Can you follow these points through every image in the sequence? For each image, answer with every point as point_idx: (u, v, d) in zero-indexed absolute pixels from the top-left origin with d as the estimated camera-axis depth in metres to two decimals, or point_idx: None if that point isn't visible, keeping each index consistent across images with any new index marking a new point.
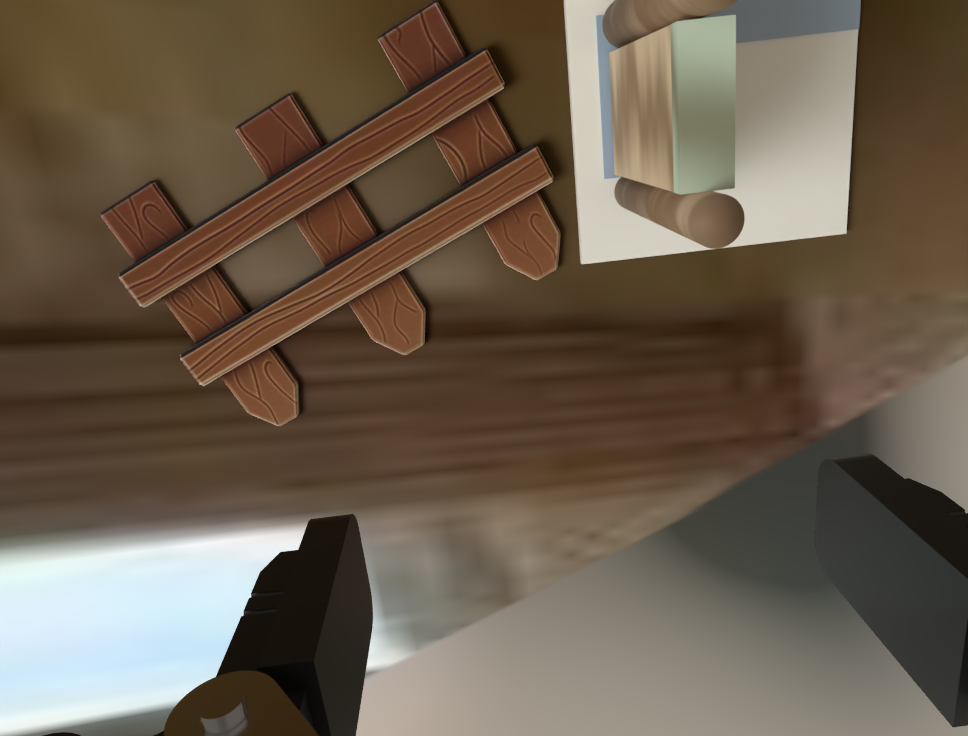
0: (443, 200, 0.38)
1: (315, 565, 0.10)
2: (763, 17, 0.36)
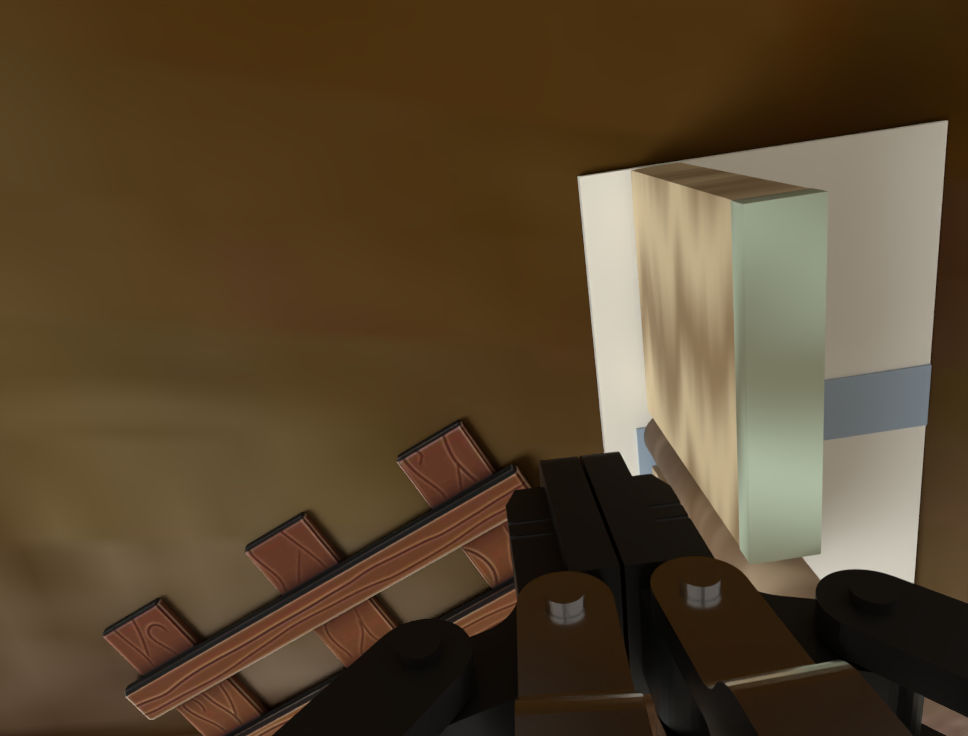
0: (473, 608, 0.35)
1: (570, 495, 0.11)
2: None
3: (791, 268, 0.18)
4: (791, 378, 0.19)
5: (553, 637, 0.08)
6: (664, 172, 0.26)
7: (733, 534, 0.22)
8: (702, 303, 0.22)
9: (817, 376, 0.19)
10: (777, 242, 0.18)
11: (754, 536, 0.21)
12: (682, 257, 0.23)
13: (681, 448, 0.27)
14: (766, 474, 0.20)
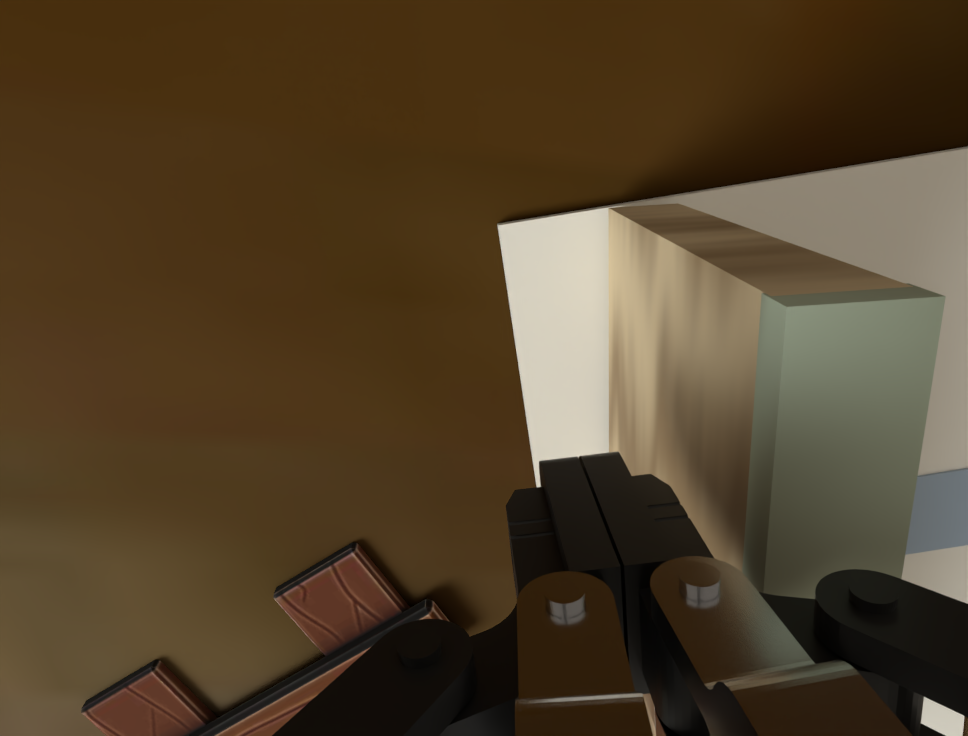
0: None
1: (570, 495, 0.11)
2: None
3: (861, 426, 0.10)
4: None
5: (553, 637, 0.08)
6: (654, 217, 0.18)
7: None
8: (695, 436, 0.14)
9: None
10: (842, 379, 0.10)
11: None
12: (669, 353, 0.15)
13: None
14: None
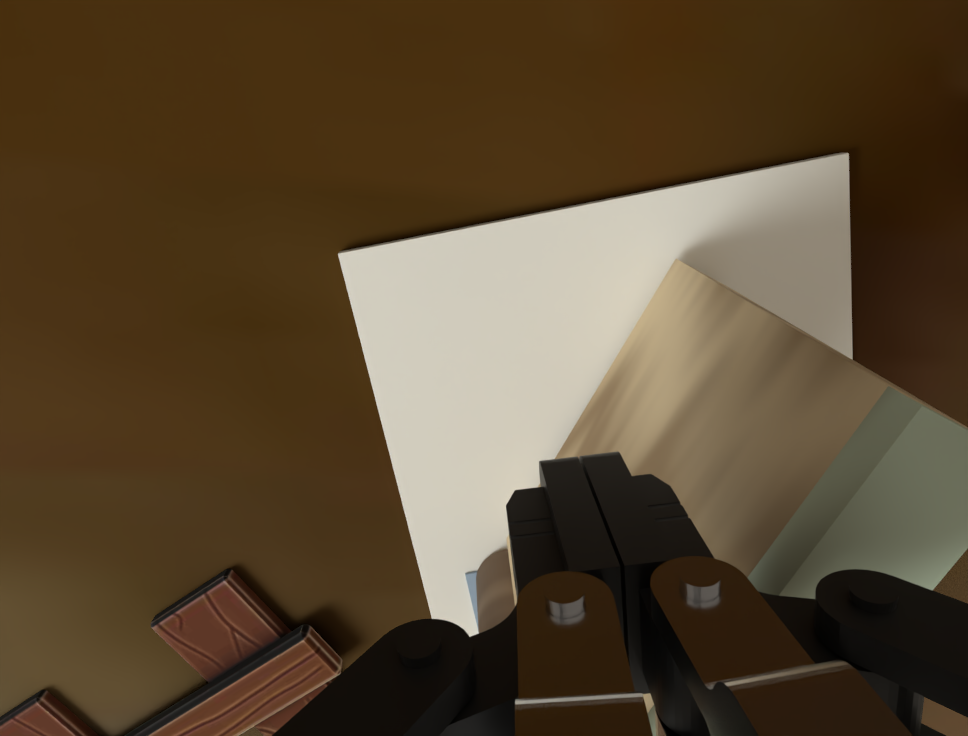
0: None
1: (571, 495, 0.11)
2: None
3: (908, 540, 0.10)
4: None
5: (553, 637, 0.08)
6: (724, 286, 0.19)
7: None
8: (705, 485, 0.14)
9: None
10: (920, 492, 0.10)
11: None
12: (704, 405, 0.15)
13: None
14: None
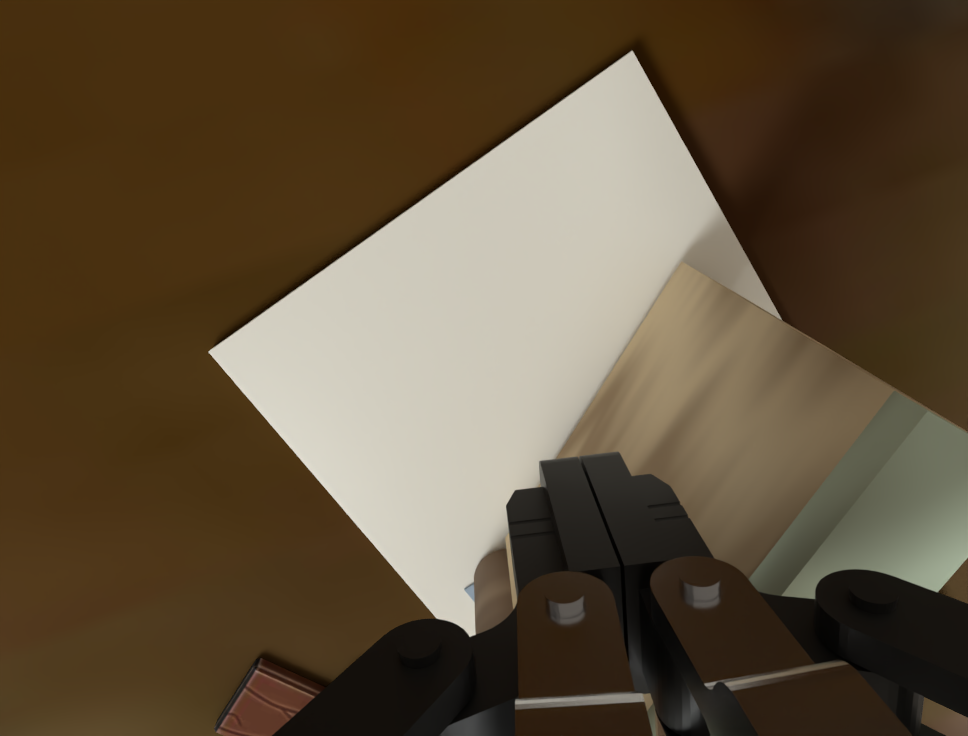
0: None
1: (571, 495, 0.11)
2: None
3: (911, 545, 0.10)
4: None
5: (553, 637, 0.08)
6: (730, 290, 0.19)
7: None
8: (707, 486, 0.14)
9: None
10: (924, 497, 0.10)
11: None
12: (708, 407, 0.15)
13: None
14: None
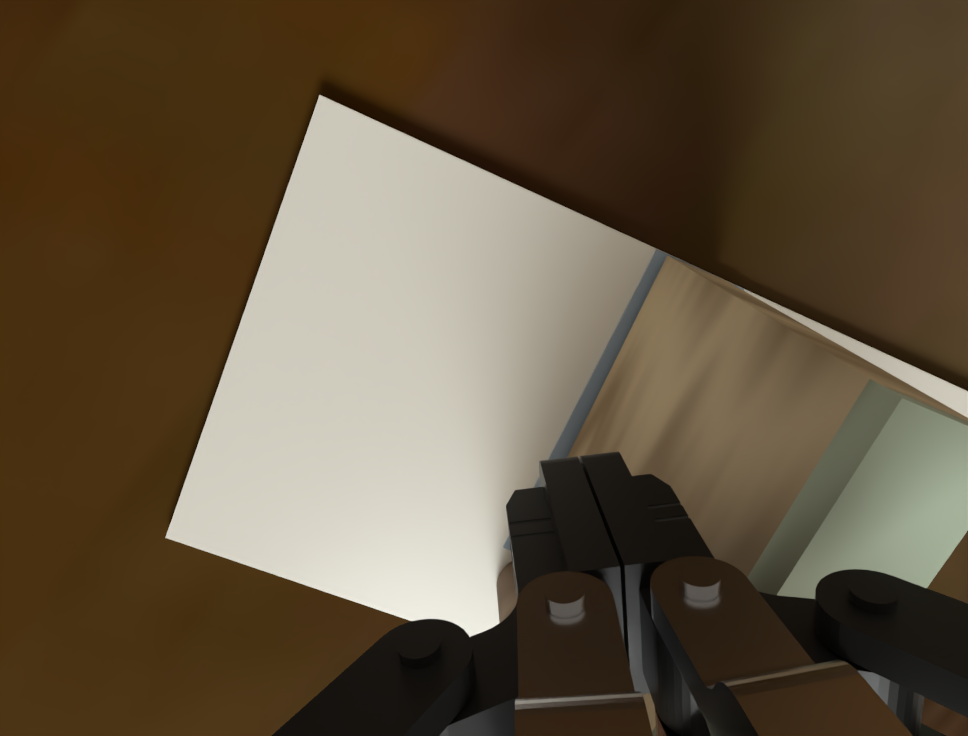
0: None
1: (571, 495, 0.11)
2: None
3: (902, 532, 0.10)
4: None
5: (554, 637, 0.08)
6: (716, 281, 0.18)
7: None
8: (704, 485, 0.14)
9: None
10: (910, 483, 0.10)
11: None
12: (700, 404, 0.15)
13: None
14: None
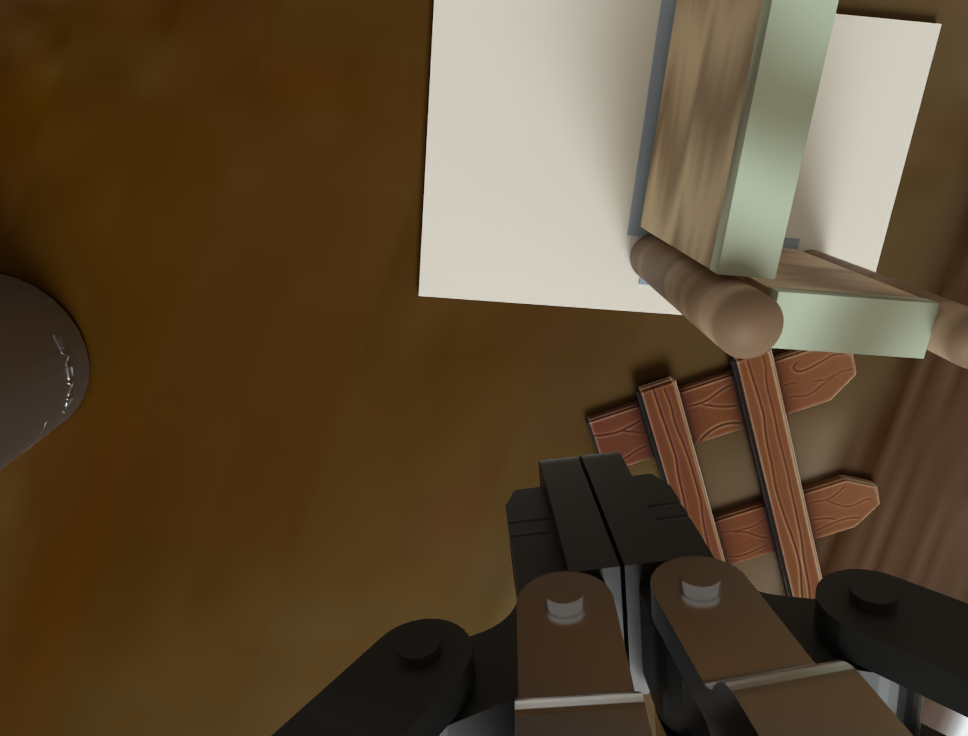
0: (755, 449, 0.40)
1: (570, 495, 0.11)
2: None
3: (809, 4, 0.22)
4: (788, 105, 0.23)
5: (553, 637, 0.08)
6: None
7: (706, 263, 0.26)
8: (724, 64, 0.26)
9: (807, 109, 0.23)
10: None
11: (726, 248, 0.25)
12: (713, 37, 0.27)
13: (669, 230, 0.31)
14: (748, 191, 0.24)
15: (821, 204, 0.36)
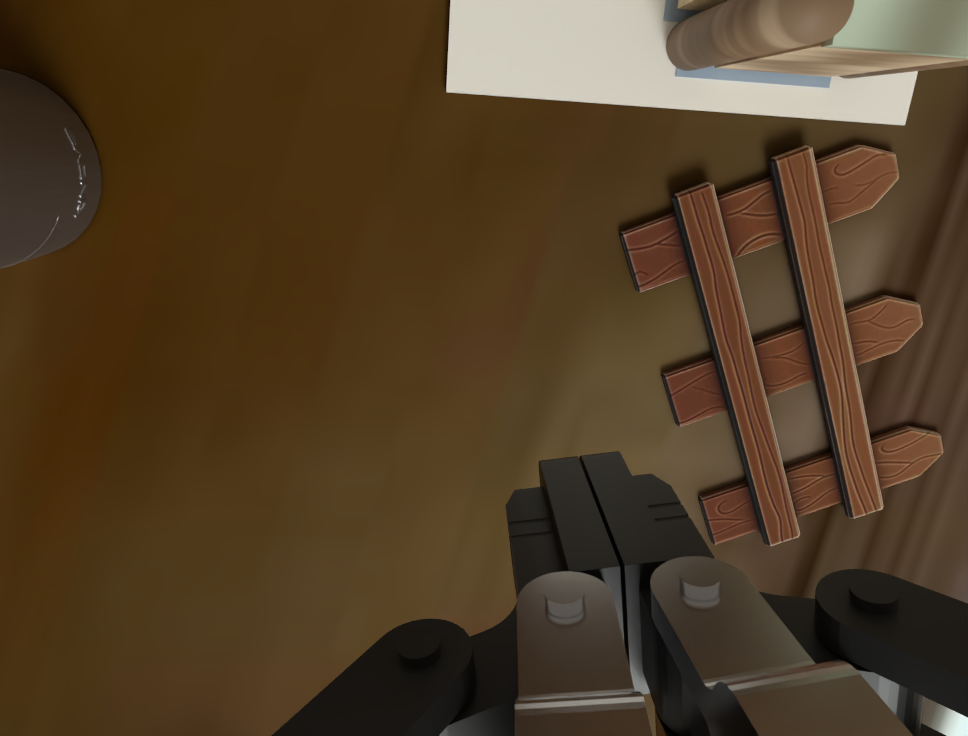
0: (796, 261, 0.39)
1: (570, 495, 0.11)
2: None
3: None
4: None
5: (553, 637, 0.08)
6: None
7: None
8: None
9: None
10: None
11: None
12: None
13: None
14: None
15: None
